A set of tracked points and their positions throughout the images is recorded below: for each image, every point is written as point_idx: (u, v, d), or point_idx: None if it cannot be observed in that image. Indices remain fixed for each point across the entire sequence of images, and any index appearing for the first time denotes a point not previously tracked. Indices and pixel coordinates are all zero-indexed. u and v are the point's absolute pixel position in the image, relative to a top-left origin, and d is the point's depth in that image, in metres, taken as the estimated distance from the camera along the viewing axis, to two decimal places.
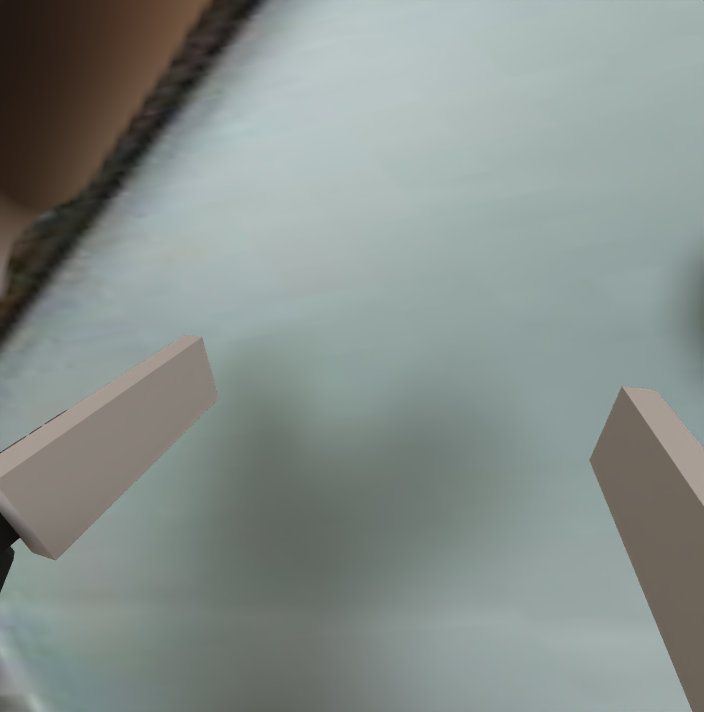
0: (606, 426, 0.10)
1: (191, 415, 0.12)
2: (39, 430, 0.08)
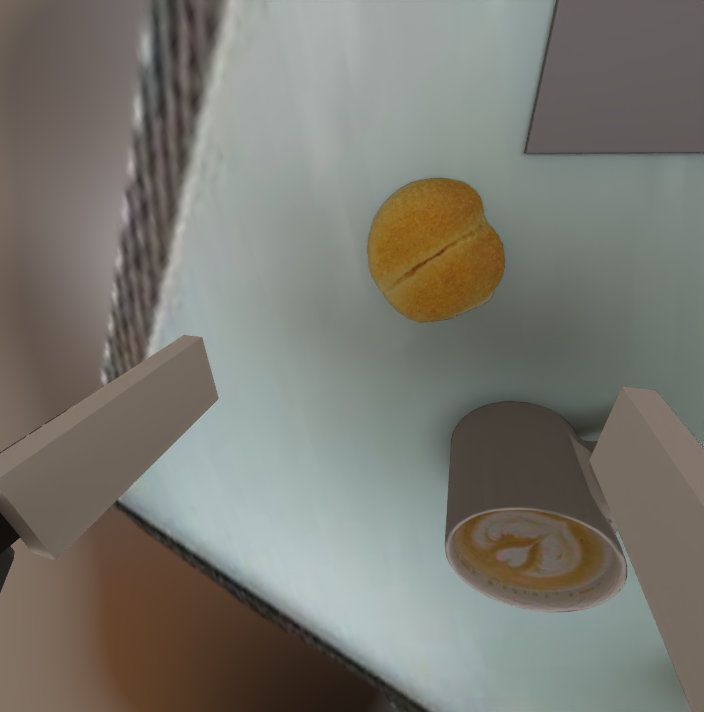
0: (606, 426, 0.10)
1: (190, 415, 0.12)
2: (39, 430, 0.08)
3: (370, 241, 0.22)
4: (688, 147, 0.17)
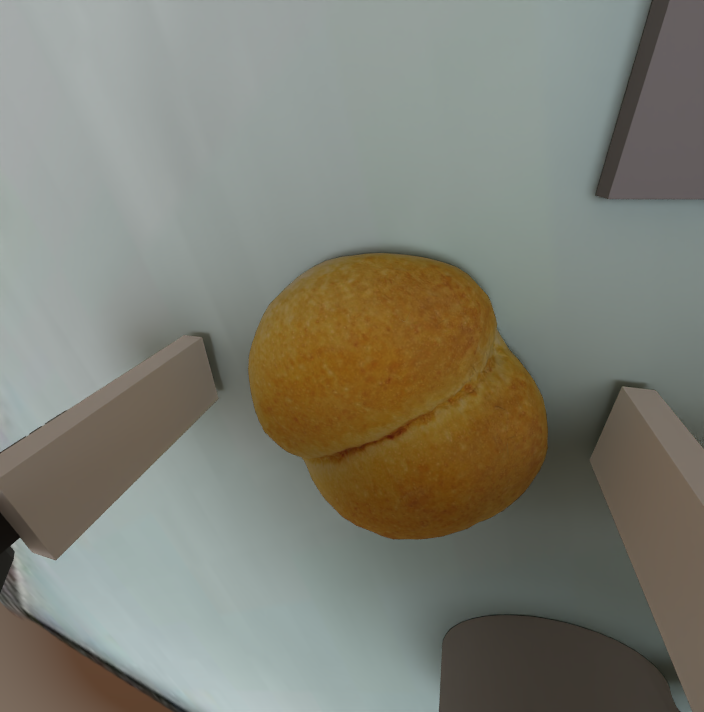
0: (606, 426, 0.10)
1: (191, 415, 0.12)
2: (39, 430, 0.08)
3: None
4: None
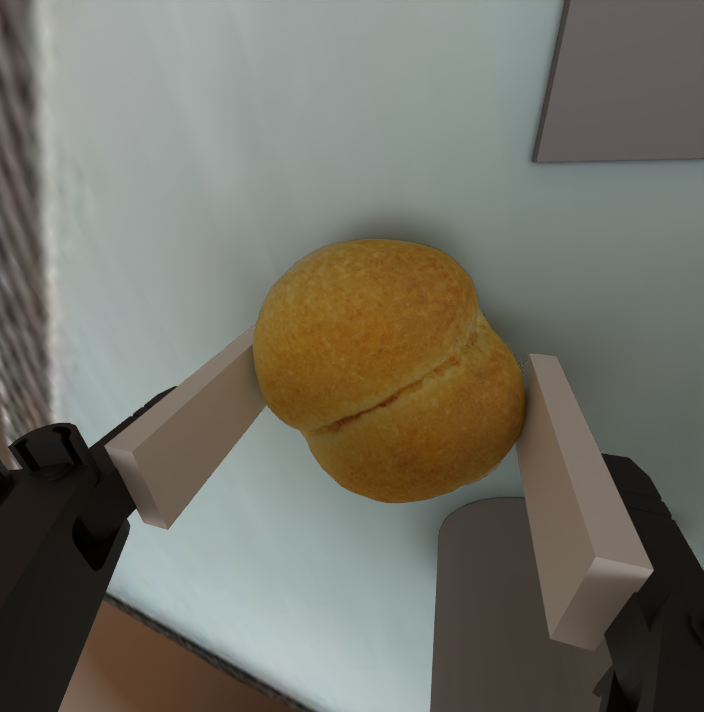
0: None
1: (261, 400, 0.13)
2: (153, 408, 0.09)
3: (254, 360, 0.11)
4: None
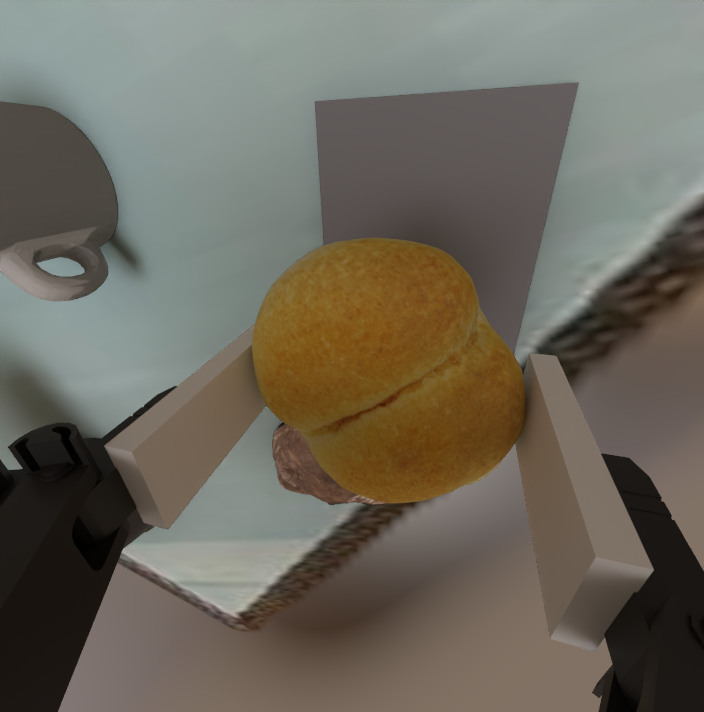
0: None
1: (261, 401, 0.13)
2: (153, 408, 0.09)
3: (253, 359, 0.11)
4: (326, 238, 0.23)
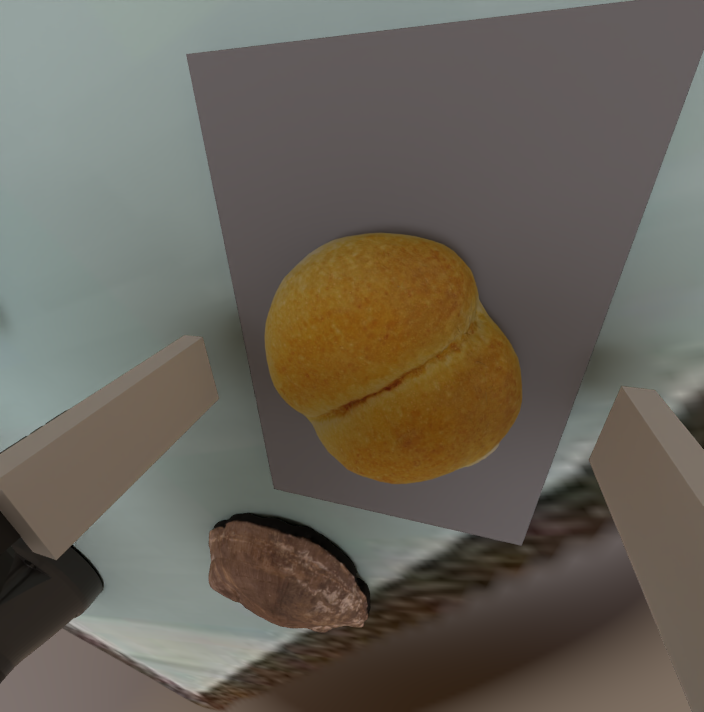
0: (605, 426, 0.10)
1: (191, 414, 0.12)
2: (40, 430, 0.08)
3: (265, 347, 0.12)
4: (238, 292, 0.14)
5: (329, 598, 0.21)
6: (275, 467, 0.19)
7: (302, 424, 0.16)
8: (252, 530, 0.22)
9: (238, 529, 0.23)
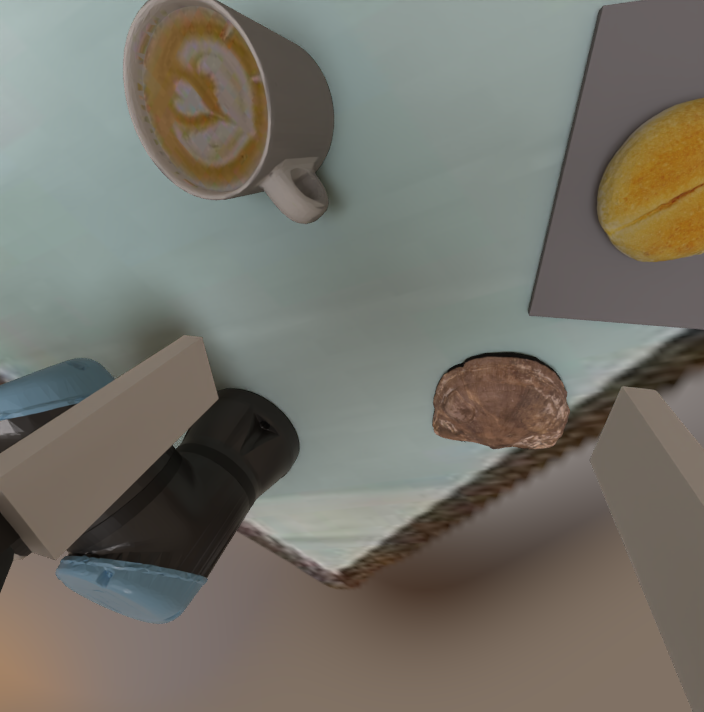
0: (606, 426, 0.10)
1: (191, 415, 0.12)
2: (39, 430, 0.08)
3: (618, 173, 0.21)
4: (570, 155, 0.23)
5: (554, 402, 0.31)
6: (538, 295, 0.28)
7: (578, 253, 0.26)
8: (495, 360, 0.32)
9: (480, 362, 0.33)
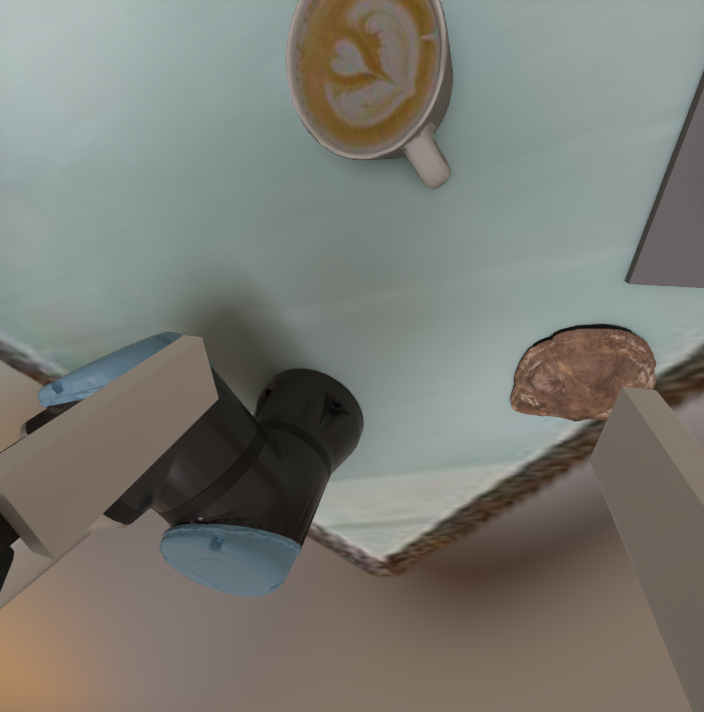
0: (606, 426, 0.10)
1: (191, 414, 0.12)
2: (39, 430, 0.08)
3: None
4: (693, 124, 0.25)
5: (647, 371, 0.32)
6: (641, 263, 0.29)
7: (687, 220, 0.27)
8: (587, 331, 0.33)
9: (571, 334, 0.34)
